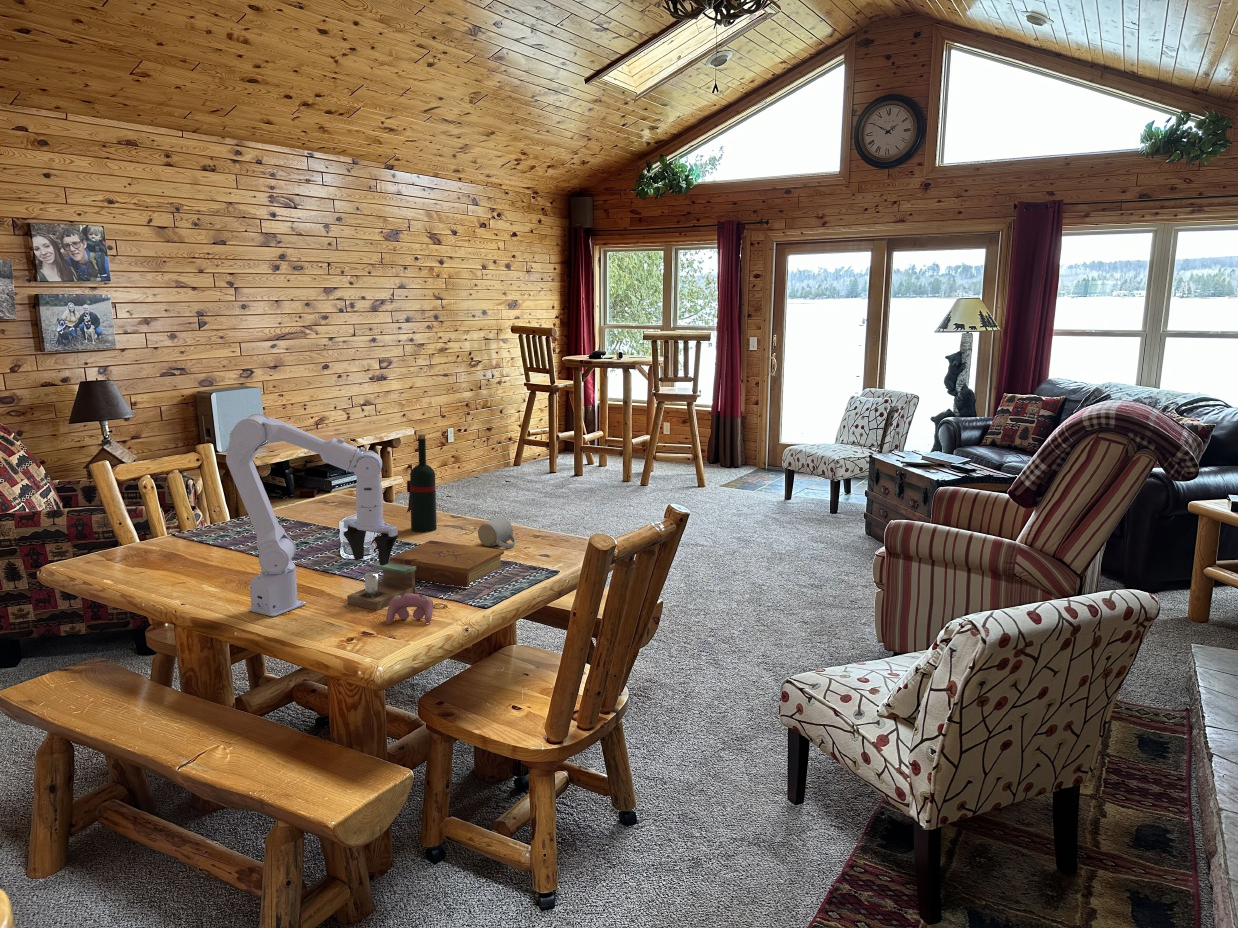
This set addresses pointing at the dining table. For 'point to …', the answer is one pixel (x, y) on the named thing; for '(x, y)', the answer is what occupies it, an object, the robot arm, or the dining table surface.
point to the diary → (450, 562)
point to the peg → (371, 585)
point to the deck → (387, 586)
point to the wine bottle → (422, 493)
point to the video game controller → (410, 600)
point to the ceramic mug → (496, 533)
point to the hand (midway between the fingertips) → (371, 561)
